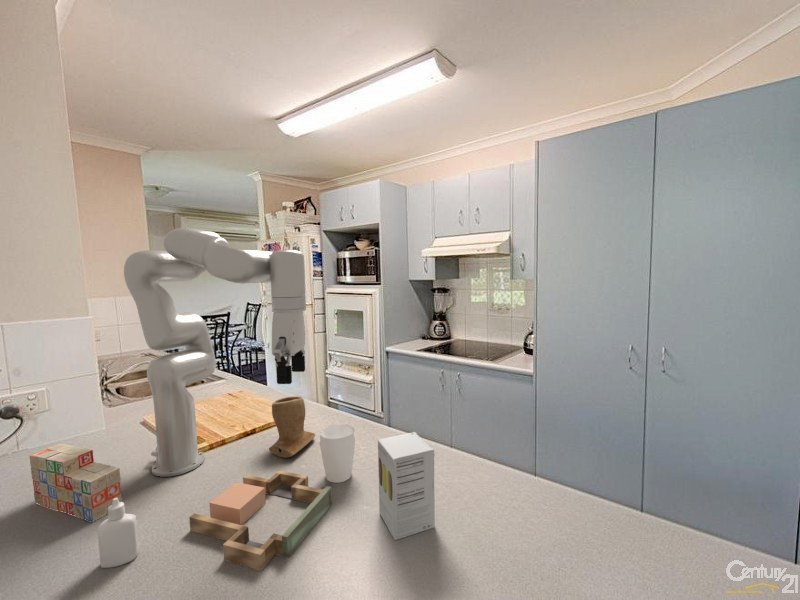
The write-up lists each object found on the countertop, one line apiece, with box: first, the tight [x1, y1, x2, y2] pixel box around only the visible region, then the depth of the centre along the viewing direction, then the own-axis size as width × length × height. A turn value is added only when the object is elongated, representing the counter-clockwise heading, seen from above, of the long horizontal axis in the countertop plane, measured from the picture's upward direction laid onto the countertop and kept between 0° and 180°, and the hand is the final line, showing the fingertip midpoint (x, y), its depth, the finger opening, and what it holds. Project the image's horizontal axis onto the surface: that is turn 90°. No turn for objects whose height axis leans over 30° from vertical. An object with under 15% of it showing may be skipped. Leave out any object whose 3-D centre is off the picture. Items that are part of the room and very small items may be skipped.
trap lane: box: [188, 470, 333, 571], centre depth 79 cm, size 24×24×4 cm
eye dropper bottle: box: [97, 498, 140, 569], centre depth 67 cm, size 4×6×12 cm
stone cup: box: [268, 395, 316, 459], centre depth 110 cm, size 15×12×15 cm
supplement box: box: [377, 431, 436, 541], centre depth 76 cm, size 10×9×17 cm
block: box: [209, 482, 266, 526], centre depth 81 cm, size 8×8×4 cm
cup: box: [319, 423, 356, 484], centre depth 94 cm, size 9×9×12 cm
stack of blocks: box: [29, 443, 123, 523], centre depth 84 cm, size 21×6×12 cm, turn 70°
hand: (291, 377), depth 85 cm, fingers open, 9 cm apart
